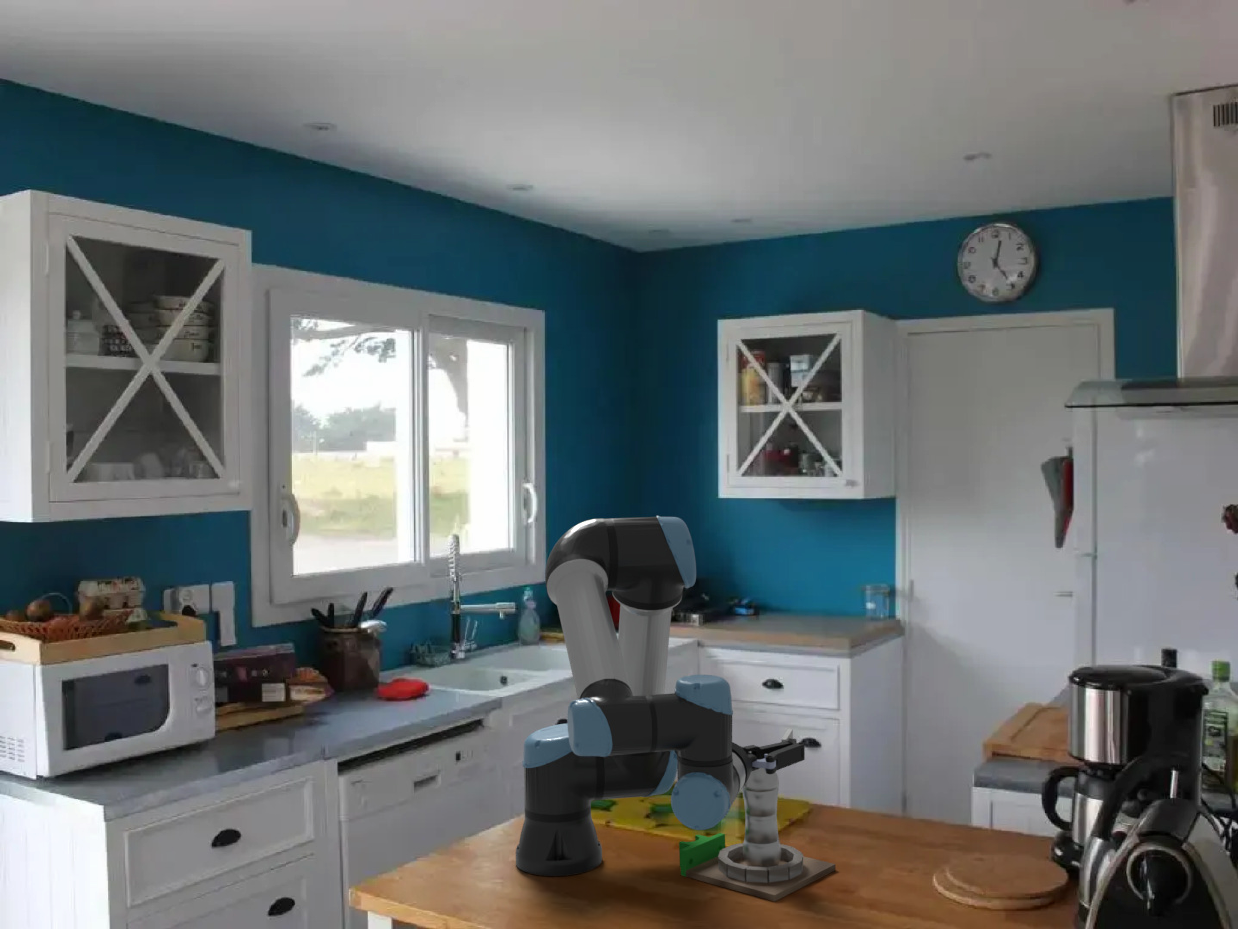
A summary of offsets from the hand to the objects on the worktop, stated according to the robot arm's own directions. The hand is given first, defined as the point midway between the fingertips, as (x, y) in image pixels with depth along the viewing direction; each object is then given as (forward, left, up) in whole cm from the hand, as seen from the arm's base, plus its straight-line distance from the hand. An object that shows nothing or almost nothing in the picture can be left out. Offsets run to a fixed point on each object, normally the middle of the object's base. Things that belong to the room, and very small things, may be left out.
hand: (748, 734), depth 193 cm
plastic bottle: (-4, +9, -25) cm, 27 cm away
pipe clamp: (-15, +6, -26) cm, 31 cm away
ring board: (-5, +9, -26) cm, 28 cm away
